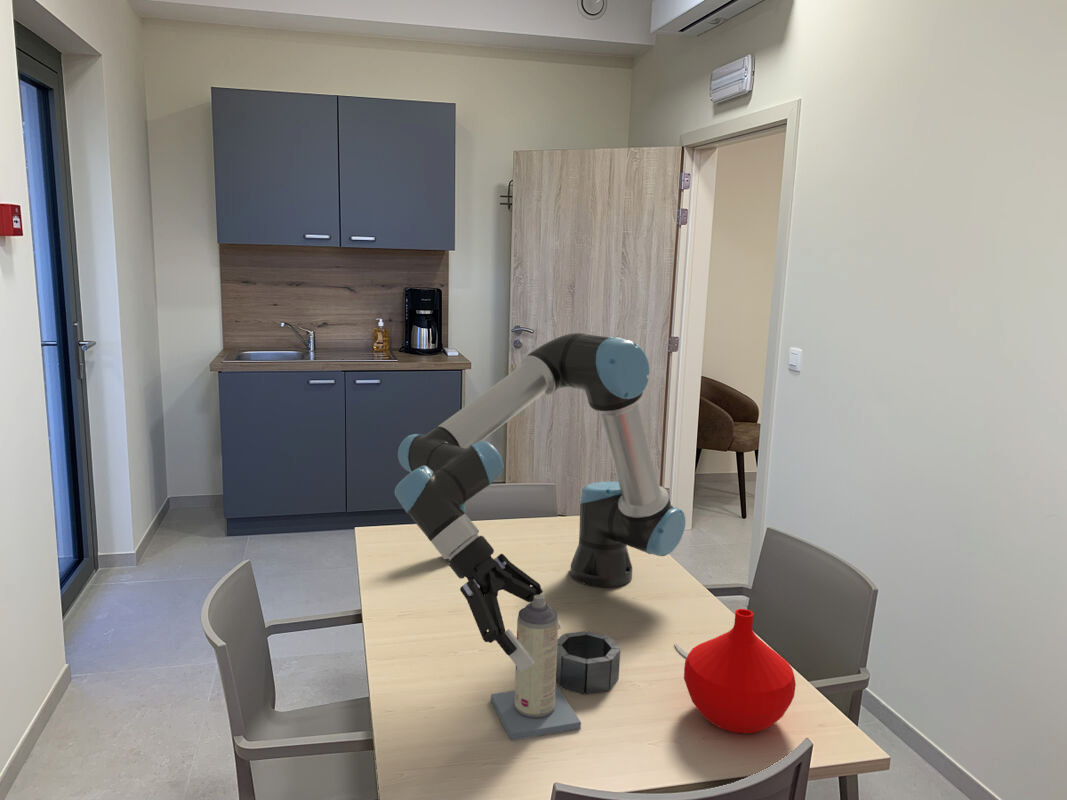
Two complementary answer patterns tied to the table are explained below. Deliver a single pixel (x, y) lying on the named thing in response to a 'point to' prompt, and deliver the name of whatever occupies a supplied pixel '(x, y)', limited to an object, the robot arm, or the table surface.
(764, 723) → the vase
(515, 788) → the table surface
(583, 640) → the ring
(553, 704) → the aerosol can
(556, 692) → the rubber mat
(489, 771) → the table surface
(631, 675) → the table surface
